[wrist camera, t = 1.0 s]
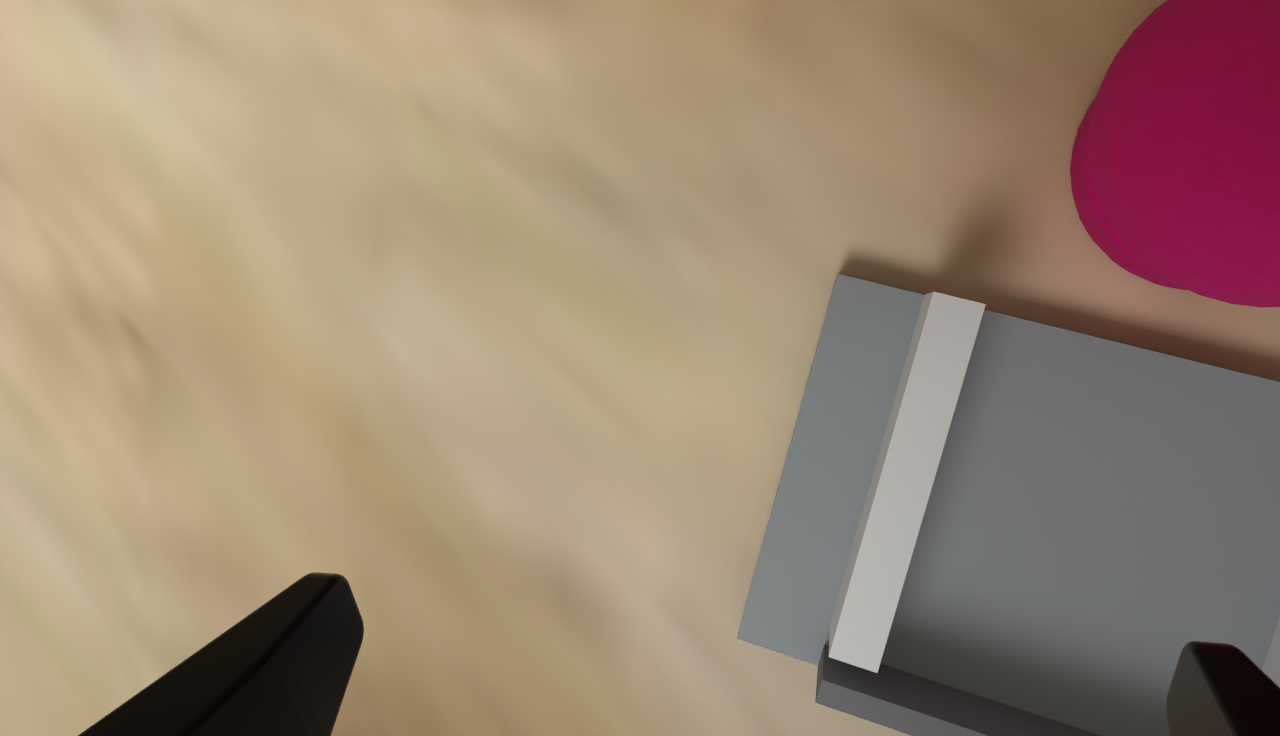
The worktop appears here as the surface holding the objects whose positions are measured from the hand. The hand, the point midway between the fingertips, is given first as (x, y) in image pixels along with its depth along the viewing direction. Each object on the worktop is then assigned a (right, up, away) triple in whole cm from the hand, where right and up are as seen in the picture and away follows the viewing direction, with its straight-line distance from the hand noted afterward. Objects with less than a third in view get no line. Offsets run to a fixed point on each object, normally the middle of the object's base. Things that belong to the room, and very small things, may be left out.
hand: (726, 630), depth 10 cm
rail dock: (+11, -2, +14) cm, 18 cm away
